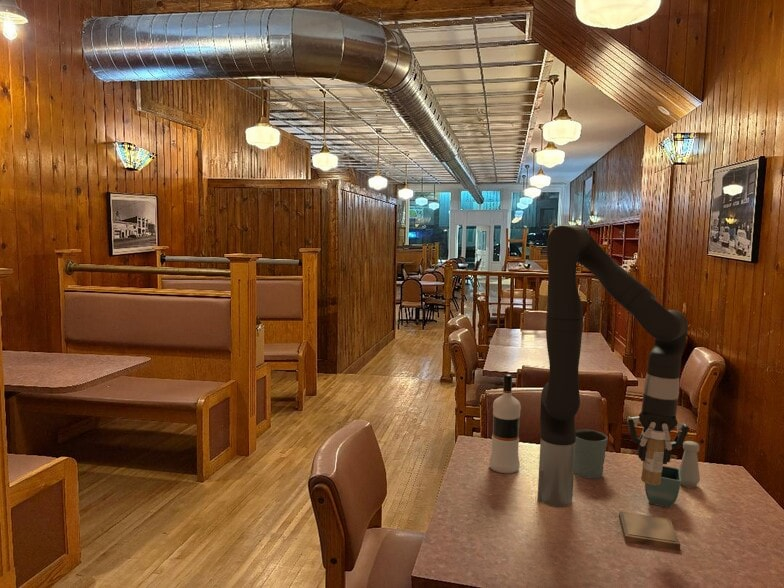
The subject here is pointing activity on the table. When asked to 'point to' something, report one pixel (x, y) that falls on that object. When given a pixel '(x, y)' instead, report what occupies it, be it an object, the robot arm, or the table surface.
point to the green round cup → (589, 453)
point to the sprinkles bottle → (653, 458)
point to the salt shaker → (690, 465)
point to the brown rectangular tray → (648, 530)
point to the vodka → (505, 431)
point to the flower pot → (665, 488)
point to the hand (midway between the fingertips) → (653, 461)
